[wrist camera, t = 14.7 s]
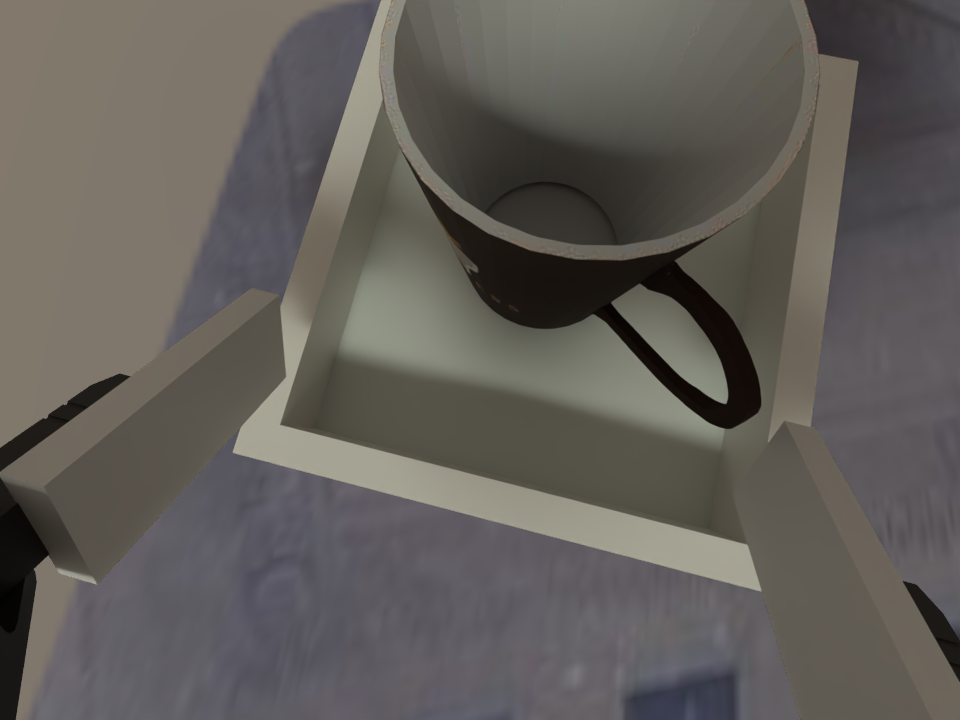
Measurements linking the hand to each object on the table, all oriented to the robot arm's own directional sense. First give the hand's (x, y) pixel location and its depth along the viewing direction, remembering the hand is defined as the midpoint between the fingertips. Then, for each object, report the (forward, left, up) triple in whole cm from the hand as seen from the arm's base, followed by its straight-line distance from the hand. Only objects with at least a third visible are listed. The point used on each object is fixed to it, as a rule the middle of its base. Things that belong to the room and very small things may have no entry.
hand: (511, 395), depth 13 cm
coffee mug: (0, -5, -6) cm, 8 cm away
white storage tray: (-1, -6, -7) cm, 9 cm away
